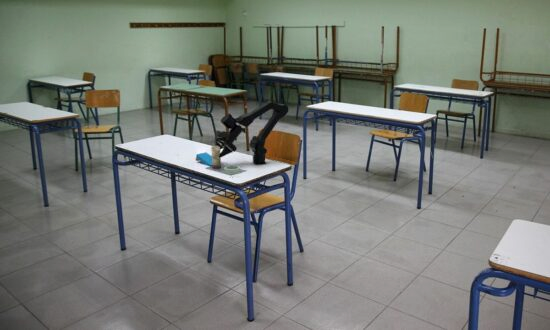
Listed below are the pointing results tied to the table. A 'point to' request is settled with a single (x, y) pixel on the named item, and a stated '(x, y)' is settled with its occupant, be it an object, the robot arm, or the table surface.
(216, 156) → the birch peg
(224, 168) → the thin grey base plate
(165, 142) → the table surface
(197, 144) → the table surface
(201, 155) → the blue long block
